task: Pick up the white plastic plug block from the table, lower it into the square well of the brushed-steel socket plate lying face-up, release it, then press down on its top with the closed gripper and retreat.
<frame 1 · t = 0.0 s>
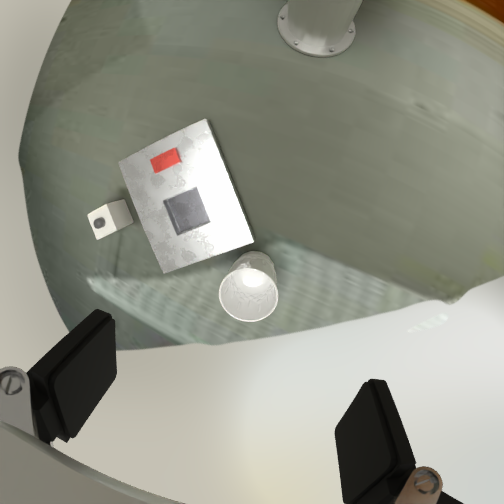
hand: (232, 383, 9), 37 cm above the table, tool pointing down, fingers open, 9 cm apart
plug: (119, 215, 47), on the table
socket plate: (186, 197, 45), on the table
white cup: (254, 269, 48), on the table
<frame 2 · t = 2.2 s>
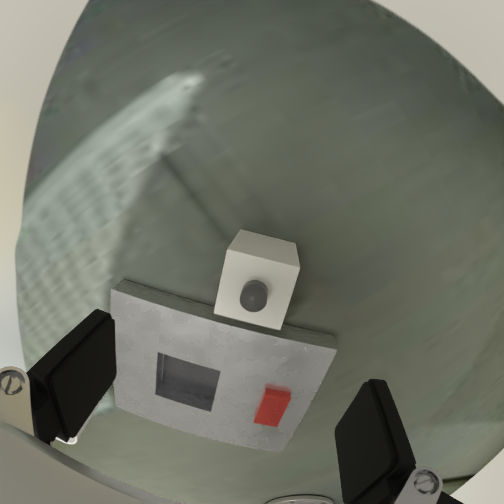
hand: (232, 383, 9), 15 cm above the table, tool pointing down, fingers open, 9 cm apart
plug: (261, 262, 24), on the table
socket plate: (210, 375, 28), on the table
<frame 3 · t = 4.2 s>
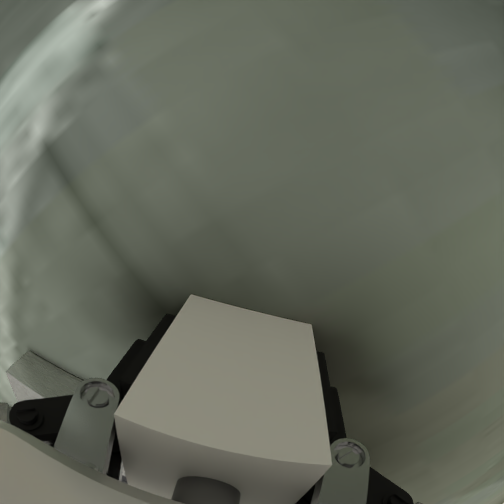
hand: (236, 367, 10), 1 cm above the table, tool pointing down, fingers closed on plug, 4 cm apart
plug: (238, 358, 11), on the table, touching gripper
socket plate: (173, 479, 15), on the table
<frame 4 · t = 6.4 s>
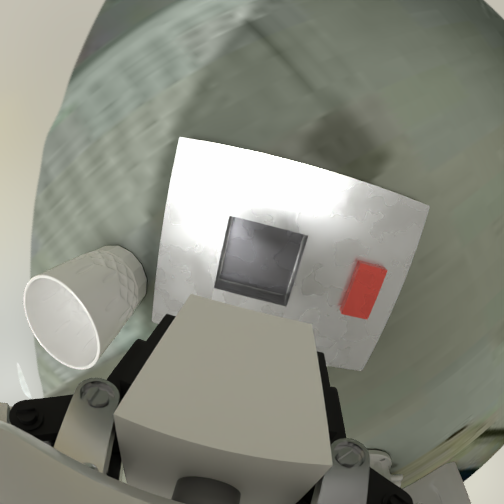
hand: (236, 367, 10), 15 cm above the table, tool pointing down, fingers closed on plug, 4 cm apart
paper bag: (432, 480, 35), on the table
plug: (238, 357, 11), point 14 cm above the table, touching gripper
socket plate: (284, 259, 25), on the table
white cup: (119, 276, 27), on the table
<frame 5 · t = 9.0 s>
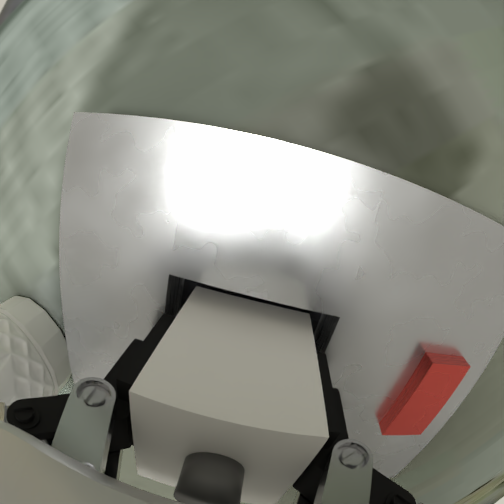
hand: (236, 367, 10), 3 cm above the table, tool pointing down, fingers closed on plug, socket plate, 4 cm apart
plug: (240, 346, 12), point 1 cm above the table, touching gripper
socket plate: (286, 342, 13), on the table
white cup: (39, 338, 15), on the table
when the fingers open (3 cm above the table, at t = 9.7 s): plug stays where it is, resting on socket plate.
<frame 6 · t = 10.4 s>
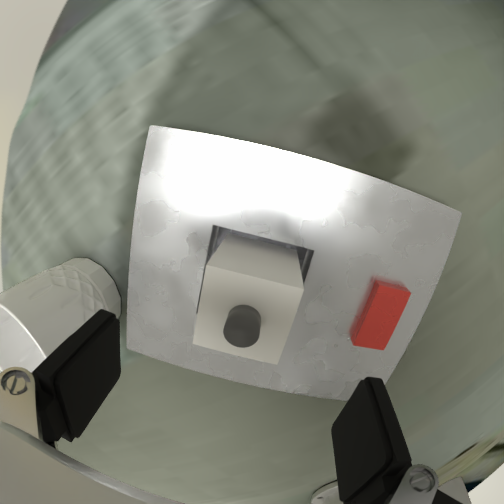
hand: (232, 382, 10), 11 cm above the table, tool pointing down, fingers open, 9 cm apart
paper bag: (436, 495, 31), on the table
plug: (254, 273, 19), resting on socket plate
socket plate: (283, 277, 20), on the table
white cup: (90, 293, 22), on the table
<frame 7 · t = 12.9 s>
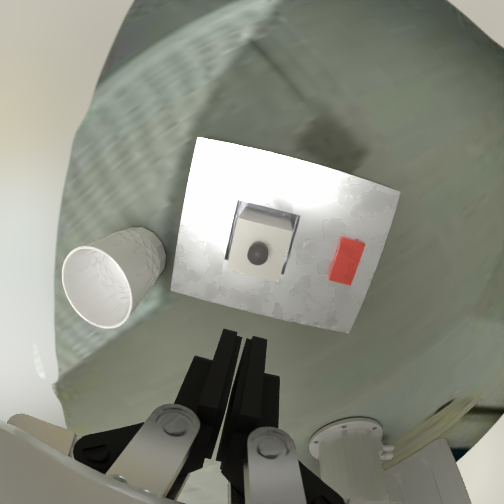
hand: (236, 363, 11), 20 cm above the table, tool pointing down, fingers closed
paper bag: (424, 457, 41), on the table
plug: (262, 233, 30), resting on socket plate
socket plate: (281, 236, 30), on the table
white cup: (140, 254, 32), on the table
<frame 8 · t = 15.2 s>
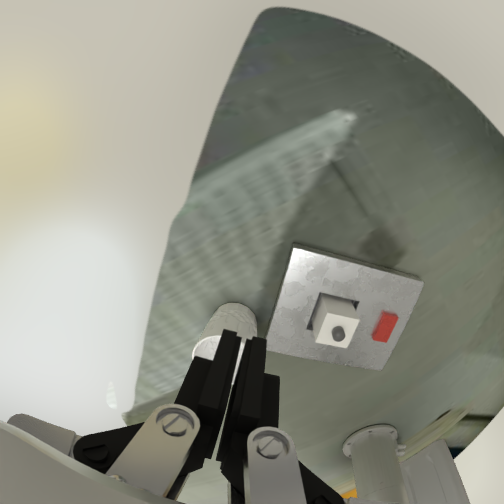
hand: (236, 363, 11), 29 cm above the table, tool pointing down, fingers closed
paper bag: (427, 455, 52), on the table
plug: (330, 309, 41), resting on socket plate
socket plate: (342, 310, 41), on the table
white cup: (235, 321, 43), on the table
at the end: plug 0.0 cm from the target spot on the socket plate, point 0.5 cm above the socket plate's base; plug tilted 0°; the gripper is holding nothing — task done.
